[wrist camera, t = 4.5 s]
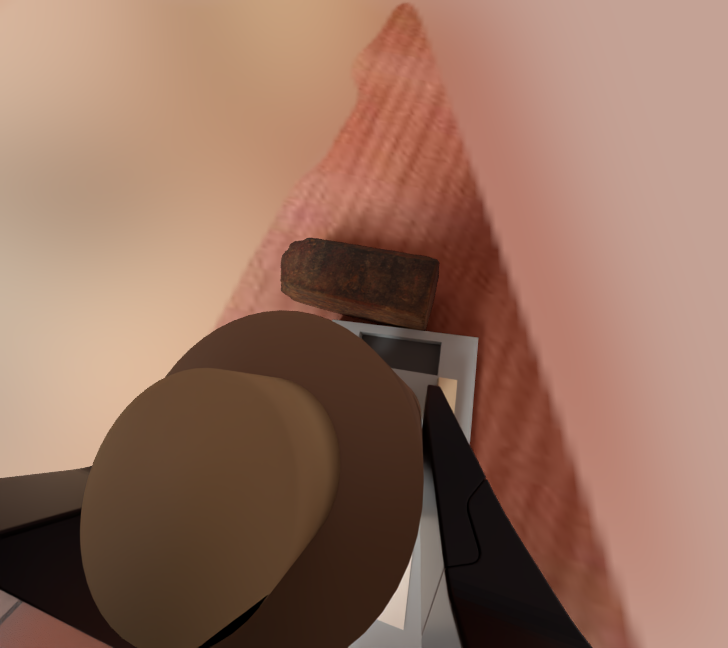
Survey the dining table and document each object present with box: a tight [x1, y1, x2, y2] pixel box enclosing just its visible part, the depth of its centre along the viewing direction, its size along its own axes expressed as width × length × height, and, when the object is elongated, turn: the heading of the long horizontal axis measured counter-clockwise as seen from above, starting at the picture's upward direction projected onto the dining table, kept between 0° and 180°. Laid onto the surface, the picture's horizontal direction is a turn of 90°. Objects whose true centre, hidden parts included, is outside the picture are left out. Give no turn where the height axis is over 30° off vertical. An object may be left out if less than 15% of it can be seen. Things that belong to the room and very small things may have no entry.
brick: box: [281, 238, 439, 331], centre depth 19 cm, size 11×4×5 cm, turn 72°
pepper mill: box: [80, 310, 424, 648], centre depth 9 cm, size 4×4×14 cm
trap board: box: [332, 319, 478, 648], centre depth 16 cm, size 18×10×3 cm, turn 169°
